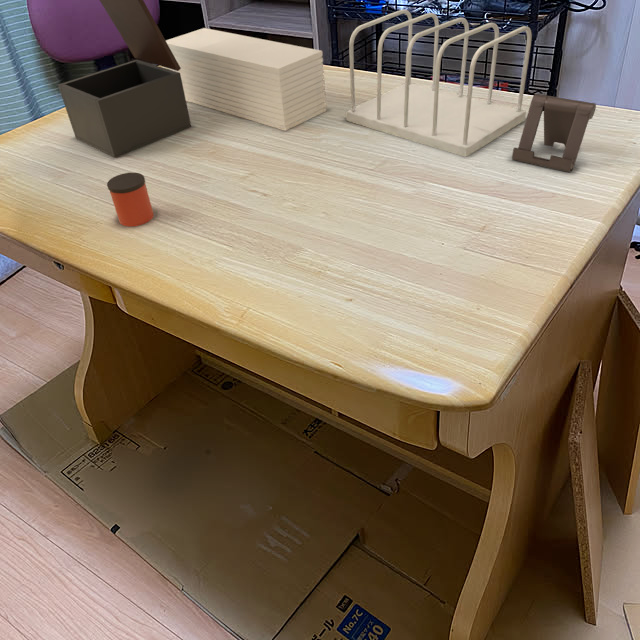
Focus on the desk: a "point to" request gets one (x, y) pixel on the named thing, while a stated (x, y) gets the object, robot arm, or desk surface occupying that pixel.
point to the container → (130, 199)
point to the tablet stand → (555, 130)
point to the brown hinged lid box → (126, 106)
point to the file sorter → (438, 96)
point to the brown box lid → (140, 32)
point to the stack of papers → (251, 77)
